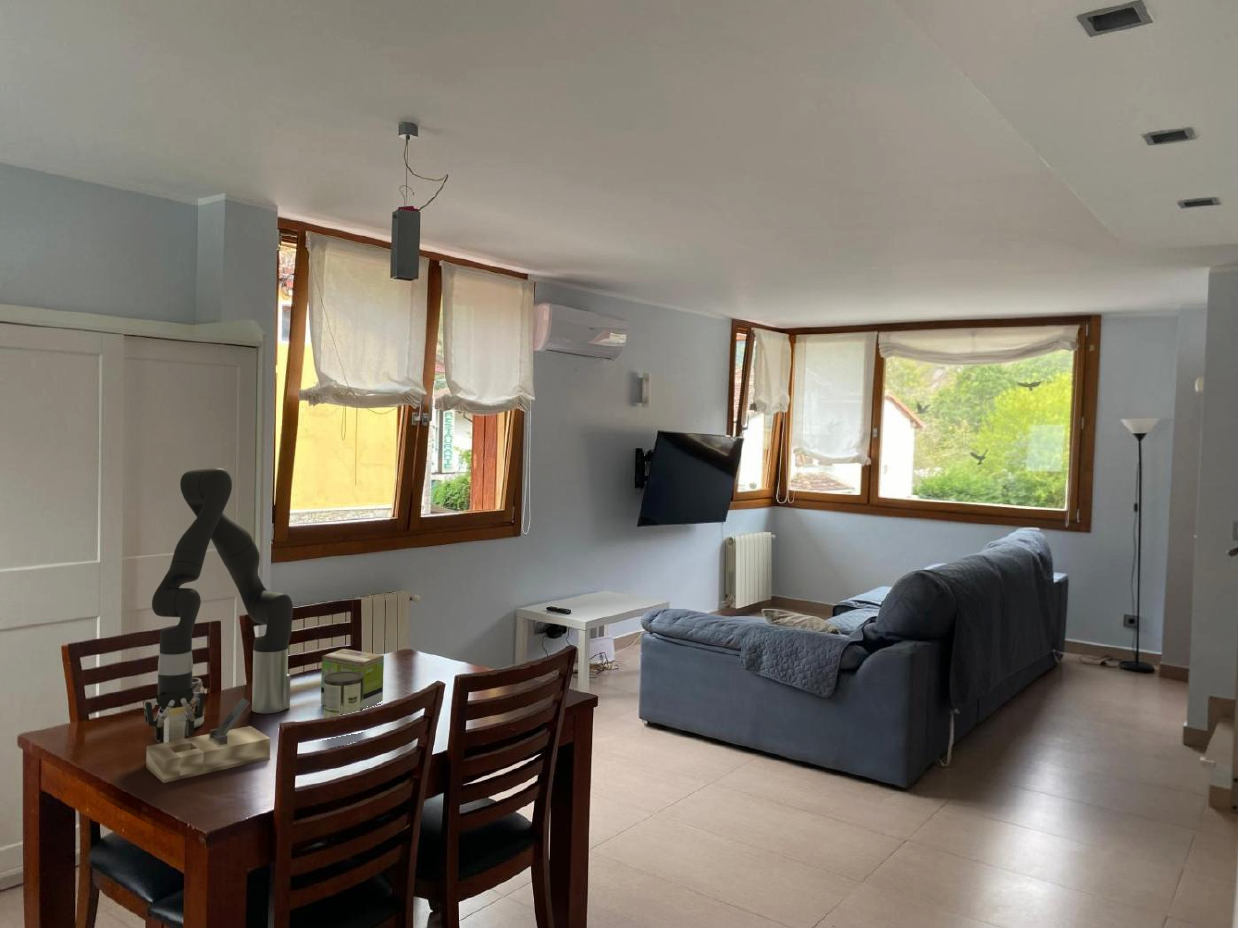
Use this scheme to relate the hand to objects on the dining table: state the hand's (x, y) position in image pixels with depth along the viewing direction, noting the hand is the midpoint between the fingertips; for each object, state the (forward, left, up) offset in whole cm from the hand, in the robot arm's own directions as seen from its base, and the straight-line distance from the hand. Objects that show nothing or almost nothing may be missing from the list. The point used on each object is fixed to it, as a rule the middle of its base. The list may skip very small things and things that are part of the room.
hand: (174, 738), depth 220 cm
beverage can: (-9, -19, -4) cm, 21 cm away
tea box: (-52, -10, -4) cm, 53 cm away
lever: (-10, +12, +5) cm, 16 cm away
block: (-4, +12, -4) cm, 13 cm away
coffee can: (-40, +8, -4) cm, 41 cm away
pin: (0, 0, -4) cm, 4 cm away
